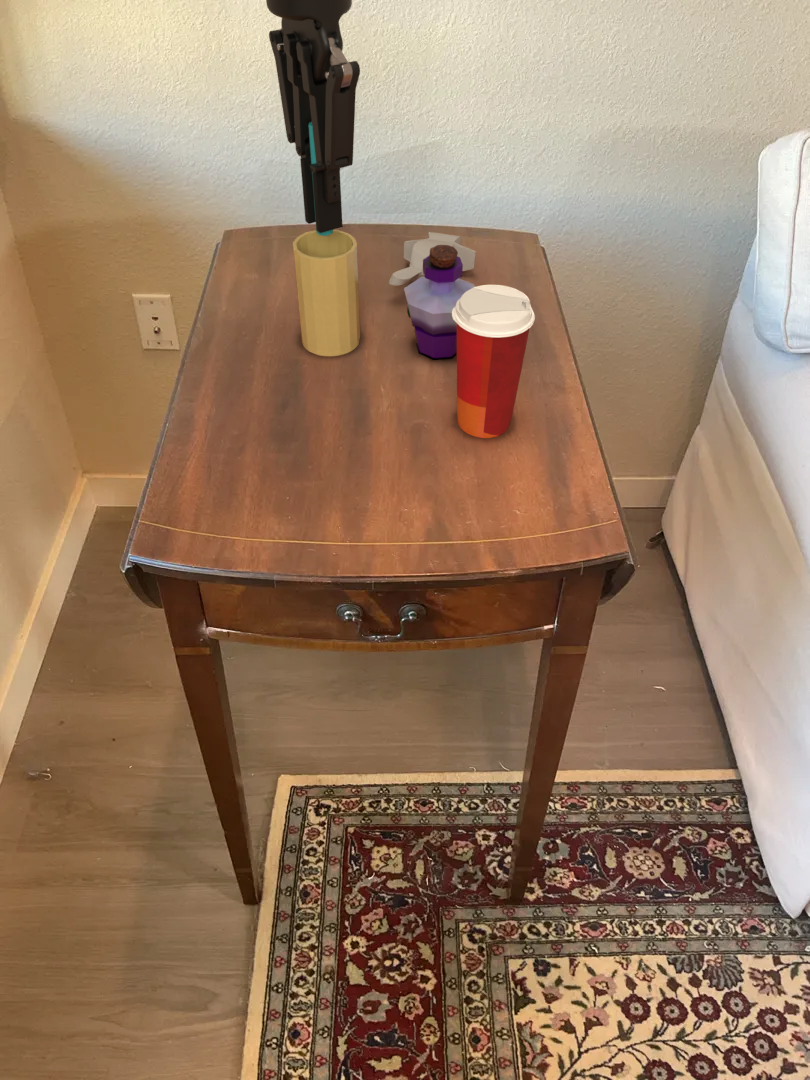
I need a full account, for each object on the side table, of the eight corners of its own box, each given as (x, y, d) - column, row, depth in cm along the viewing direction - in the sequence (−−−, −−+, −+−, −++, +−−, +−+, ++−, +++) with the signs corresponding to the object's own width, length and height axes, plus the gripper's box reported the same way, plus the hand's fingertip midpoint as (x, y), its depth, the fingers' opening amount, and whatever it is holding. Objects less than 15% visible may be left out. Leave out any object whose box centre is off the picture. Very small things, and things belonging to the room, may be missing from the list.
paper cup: (520, 401, 90) (536, 283, 80) (520, 447, 85) (536, 327, 75) (448, 397, 91) (454, 279, 81) (443, 442, 86) (450, 321, 75)
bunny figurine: (484, 229, 109) (458, 271, 98) (480, 267, 113) (454, 312, 102) (414, 219, 111) (381, 259, 100) (413, 257, 114) (380, 300, 103)
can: (319, 362, 95) (311, 265, 86) (292, 335, 99) (282, 238, 90) (370, 345, 98) (368, 248, 89) (341, 318, 102) (336, 223, 93)
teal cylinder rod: (321, 237, 88) (313, 128, 80) (313, 230, 89) (305, 122, 81) (336, 233, 89) (330, 124, 81) (328, 226, 90) (321, 118, 82)
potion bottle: (412, 322, 101) (414, 227, 93) (482, 332, 100) (490, 237, 91) (393, 361, 95) (393, 264, 87) (467, 373, 94) (475, 275, 85)
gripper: (389, -30, 68) (391, 243, 85) (304, -64, 77) (321, 190, 94) (308, -17, 65) (327, 262, 82) (229, -55, 74) (260, 205, 91)
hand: (323, 223), depth 88 cm, fingers closed on teal cylinder rod, 2 cm apart
